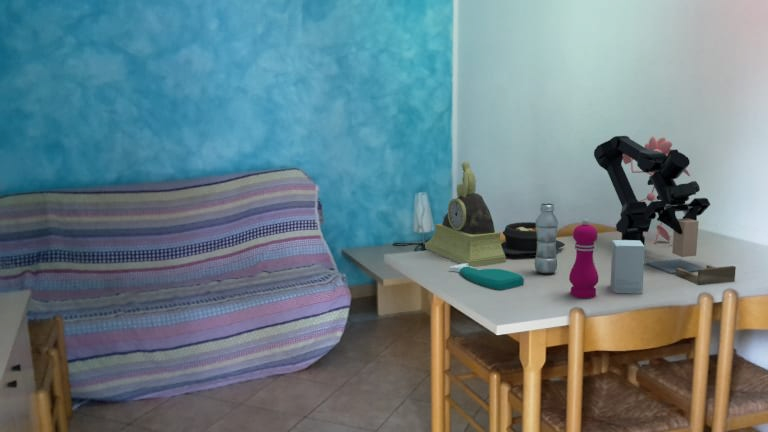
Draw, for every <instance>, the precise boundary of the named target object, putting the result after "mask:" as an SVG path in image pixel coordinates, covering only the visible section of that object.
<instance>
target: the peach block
mask: <svg viewBox="0 0 768 432" xmlns="http://www.w3.org/2000/svg"><path fill="white" fill-rule="evenodd" d="M677 220H678V222H679V224H680V226H681V229H682V231H683V233H682V234H678V233H677V232H676V231H674V230H673V236H672V245H673V246H672V251H671V253H672V254H673V255H676V256H678V257H682V258H686V257H695V256H697V248H698V236H699V220H697V221H696V220H692V219H689V218H685V219H683V218H677Z"/></svg>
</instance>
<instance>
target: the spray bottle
mask: <svg viewBox="0 0 768 432" xmlns="http://www.w3.org/2000/svg"><path fill="white" fill-rule="evenodd" d="M449 272H456V273H460V274H461V275H462V276H463V277H465V279H467V280H468V281H470V282H472V283H475V284H477V285H479V286H483V287H484V288H489V289H493V290H497V291H504V290H510V289H513V288H519V287H521V286H523V285H524V283H525V279H524V277H523V275H520V274H519V273H516V272H513V271H510V270H506V269H501V268H484V269H477V267H470V266H469V264H468V263H465V264H460V263H458V264H455V265H452V266H449Z"/></svg>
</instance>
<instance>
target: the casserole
mask: <svg viewBox="0 0 768 432" xmlns="http://www.w3.org/2000/svg"><path fill="white" fill-rule="evenodd" d="M502 234H503V236H504V239H505V241H503V242H501V246H502V249H503V252H504V254H505V255H506V254H508V255H520V256H527V257H528V256H530V257H531V256H536V251H537V233H536V224H535V222H530V221H529V222H527V221H526V222H523V221H522V222H515V223H510V224H507V225H506V226H505V227H504V230H503V231H502ZM564 246H566V244H565V242H562V241H560V240H557V239H556V251H557V250H559V248H562V247H564Z"/></svg>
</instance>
